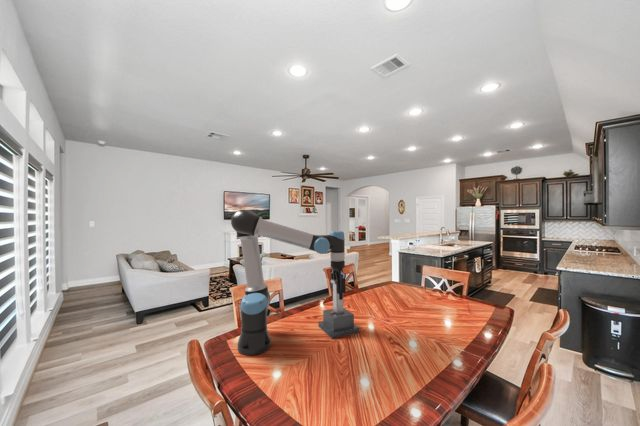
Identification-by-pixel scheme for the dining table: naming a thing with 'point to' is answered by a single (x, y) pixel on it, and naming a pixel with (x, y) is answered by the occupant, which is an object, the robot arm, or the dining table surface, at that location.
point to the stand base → (338, 323)
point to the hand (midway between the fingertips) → (338, 303)
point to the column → (336, 298)
